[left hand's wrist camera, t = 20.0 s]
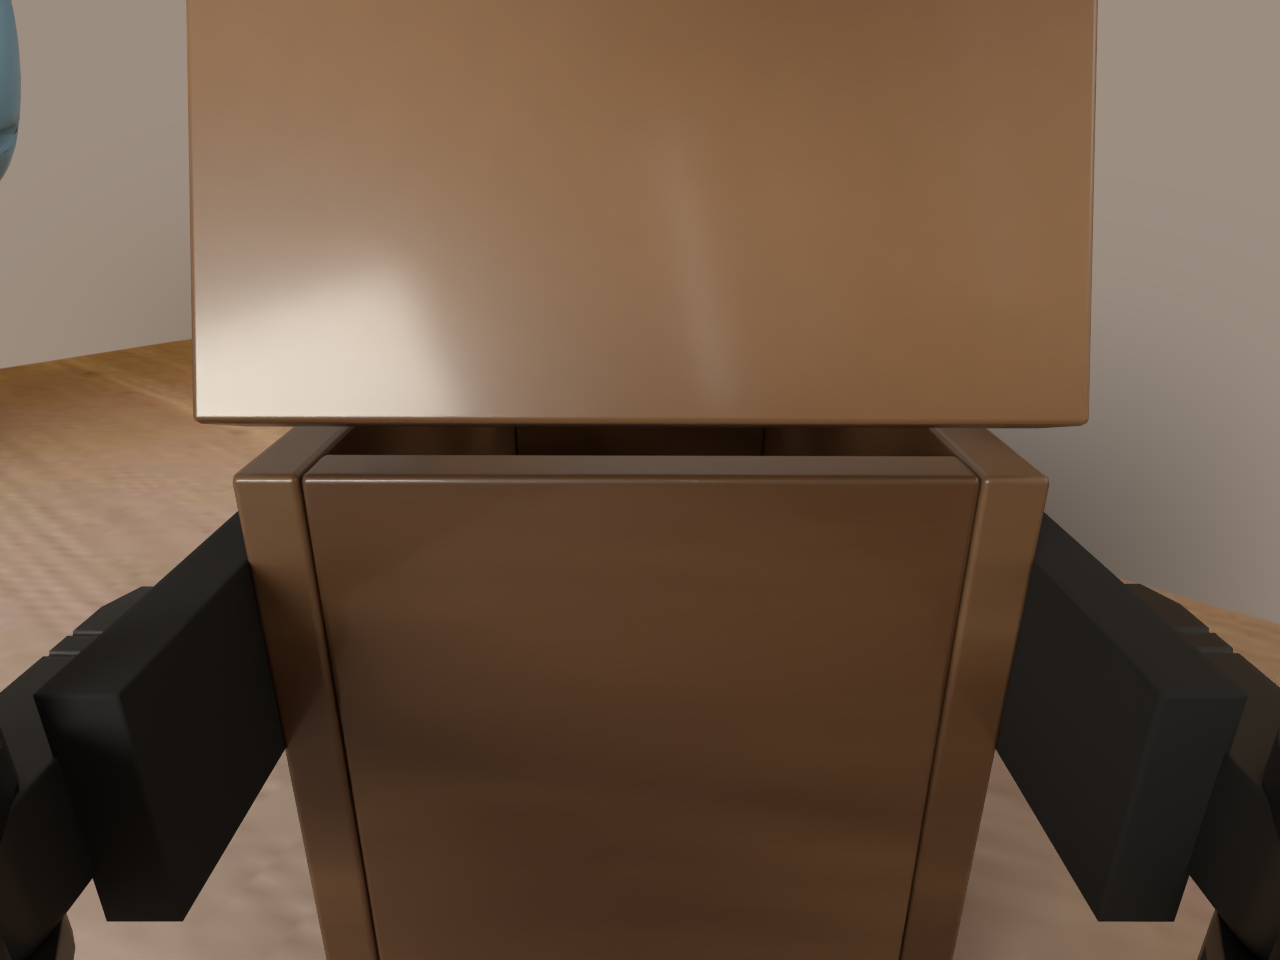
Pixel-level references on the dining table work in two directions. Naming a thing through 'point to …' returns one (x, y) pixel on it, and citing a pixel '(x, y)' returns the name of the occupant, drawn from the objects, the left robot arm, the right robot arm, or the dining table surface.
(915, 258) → the lid
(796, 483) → the chest
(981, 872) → the dining table surface
